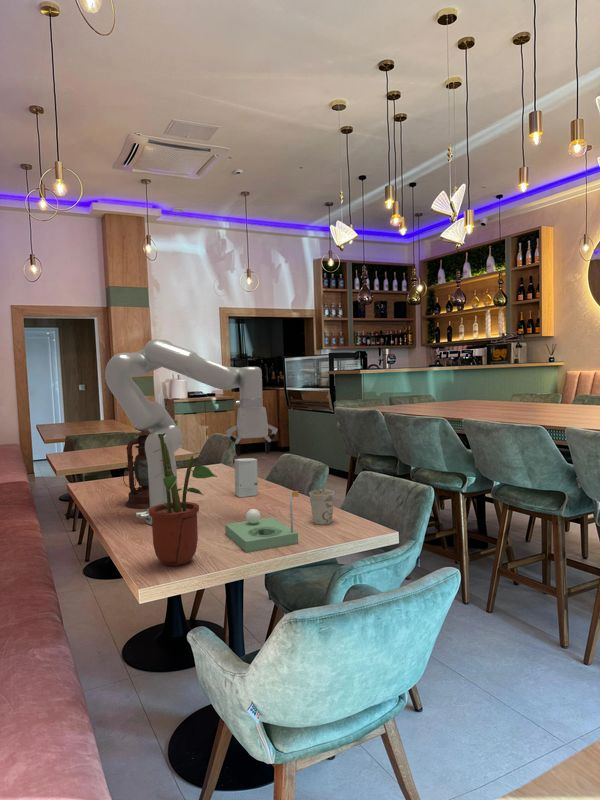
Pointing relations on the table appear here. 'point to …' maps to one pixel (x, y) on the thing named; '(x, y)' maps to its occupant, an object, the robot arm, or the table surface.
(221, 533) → the table surface
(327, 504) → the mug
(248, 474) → the skincare box
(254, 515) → the ball
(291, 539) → the putting mat
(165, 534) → the potted plant
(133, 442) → the lantern
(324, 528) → the table surface
